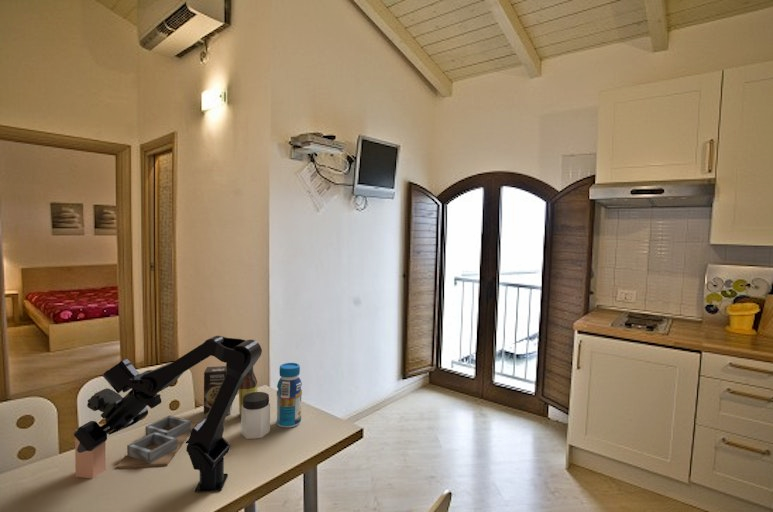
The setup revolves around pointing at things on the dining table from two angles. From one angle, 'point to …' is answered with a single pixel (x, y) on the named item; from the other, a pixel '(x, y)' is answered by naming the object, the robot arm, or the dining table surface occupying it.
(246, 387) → the sauce bottle
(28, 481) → the dining table surface
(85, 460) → the pink rectangular block
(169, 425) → the cap board
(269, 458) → the dining table surface
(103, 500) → the dining table surface
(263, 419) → the jar
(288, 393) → the beverage bottle
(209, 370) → the coffee box
